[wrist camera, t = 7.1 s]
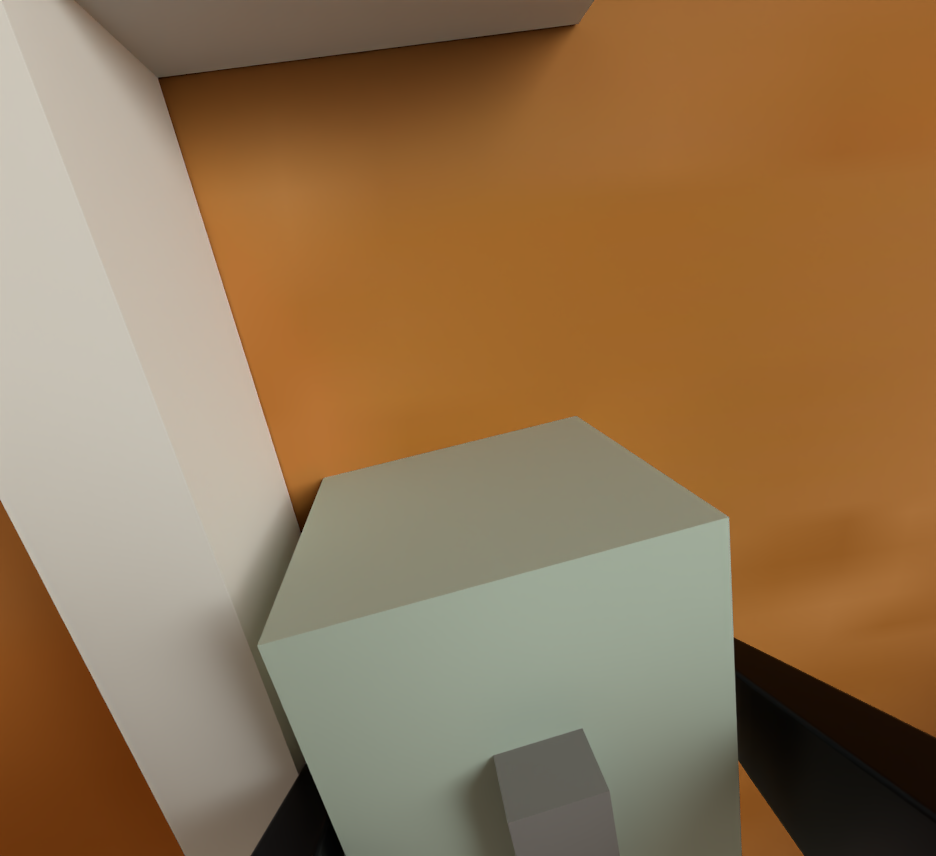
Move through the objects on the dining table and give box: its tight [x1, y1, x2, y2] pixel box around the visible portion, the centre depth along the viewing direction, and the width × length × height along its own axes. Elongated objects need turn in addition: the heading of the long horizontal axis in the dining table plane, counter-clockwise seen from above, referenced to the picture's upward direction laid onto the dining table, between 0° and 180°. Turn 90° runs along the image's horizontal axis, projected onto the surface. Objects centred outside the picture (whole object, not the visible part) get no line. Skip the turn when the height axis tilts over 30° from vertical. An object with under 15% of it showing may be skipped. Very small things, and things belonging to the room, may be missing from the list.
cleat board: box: [0, 0, 594, 856], centre depth 10 cm, size 9×31×4 cm, turn 10°
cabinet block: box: [257, 416, 742, 856], centre depth 8 cm, size 6×8×6 cm
